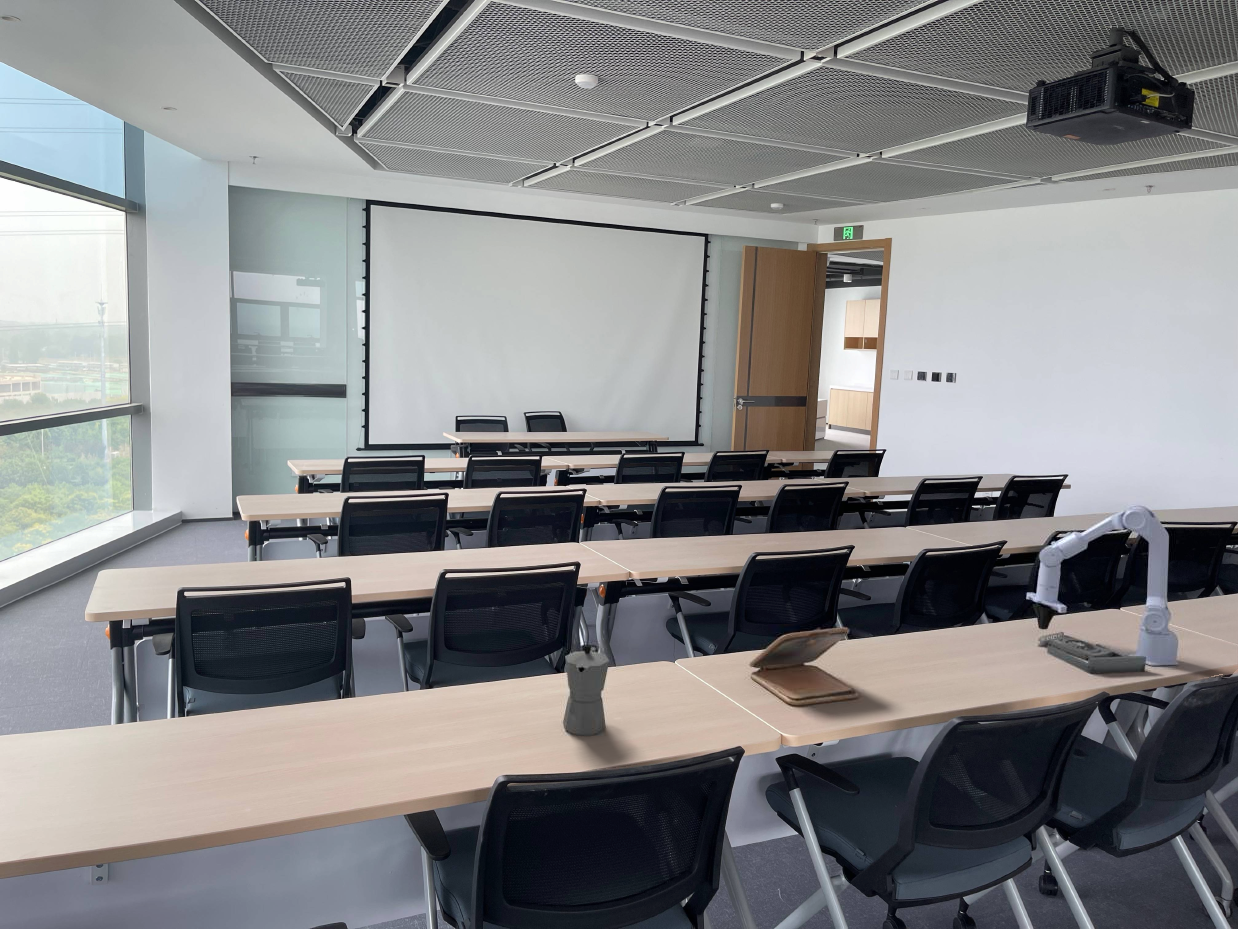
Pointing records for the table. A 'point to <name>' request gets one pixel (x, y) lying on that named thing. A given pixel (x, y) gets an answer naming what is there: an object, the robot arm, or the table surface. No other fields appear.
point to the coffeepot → (585, 691)
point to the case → (801, 668)
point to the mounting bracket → (1103, 662)
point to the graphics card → (1074, 646)
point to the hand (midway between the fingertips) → (1042, 628)
